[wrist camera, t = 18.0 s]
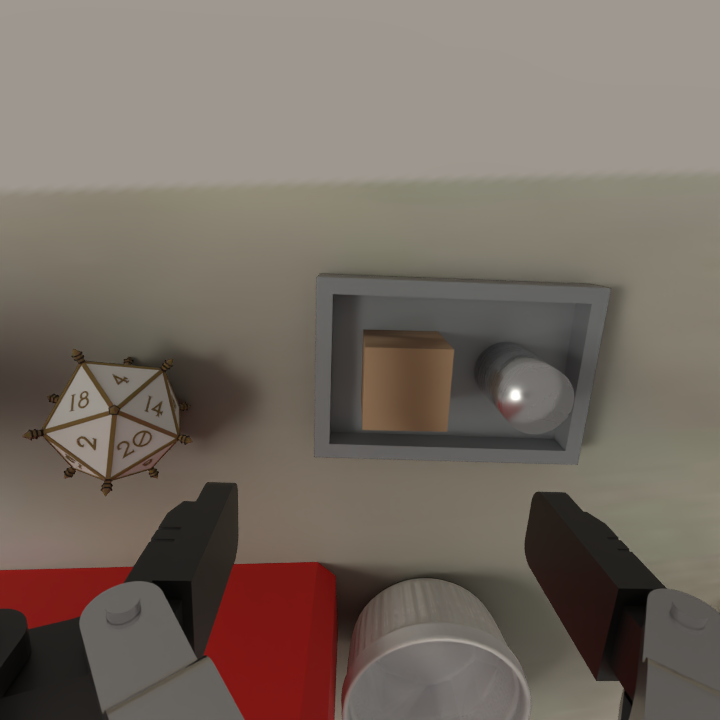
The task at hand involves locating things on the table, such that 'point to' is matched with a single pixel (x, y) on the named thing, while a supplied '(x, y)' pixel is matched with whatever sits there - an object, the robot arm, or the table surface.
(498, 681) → the ramekin
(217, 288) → the table surface
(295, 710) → the book
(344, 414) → the charcoal tray
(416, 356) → the walnut cube
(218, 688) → the robot arm
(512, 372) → the steel cylinder
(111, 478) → the game die
